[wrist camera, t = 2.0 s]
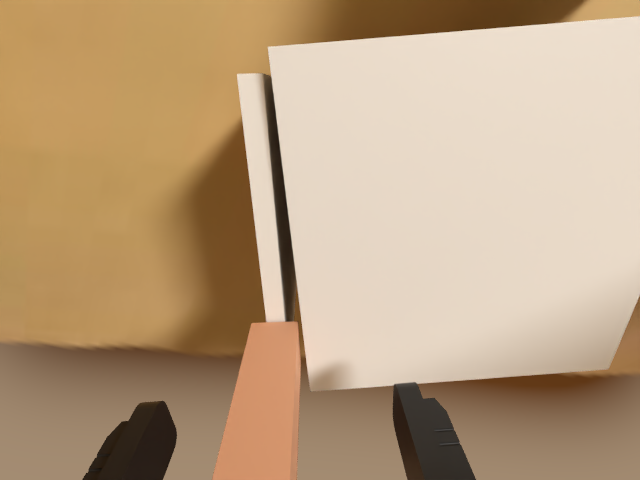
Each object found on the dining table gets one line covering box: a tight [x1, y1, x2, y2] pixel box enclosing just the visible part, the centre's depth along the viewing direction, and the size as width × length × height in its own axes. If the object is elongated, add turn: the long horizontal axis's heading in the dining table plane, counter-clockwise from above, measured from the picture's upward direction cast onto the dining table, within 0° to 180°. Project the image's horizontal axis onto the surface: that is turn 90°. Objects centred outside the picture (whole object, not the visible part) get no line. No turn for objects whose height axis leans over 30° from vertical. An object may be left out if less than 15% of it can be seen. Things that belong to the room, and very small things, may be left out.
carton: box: [268, 16, 640, 392], centre depth 17 cm, size 14×14×11 cm
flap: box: [212, 73, 301, 480], centre depth 13 cm, size 2×13×18 cm, turn 1°
